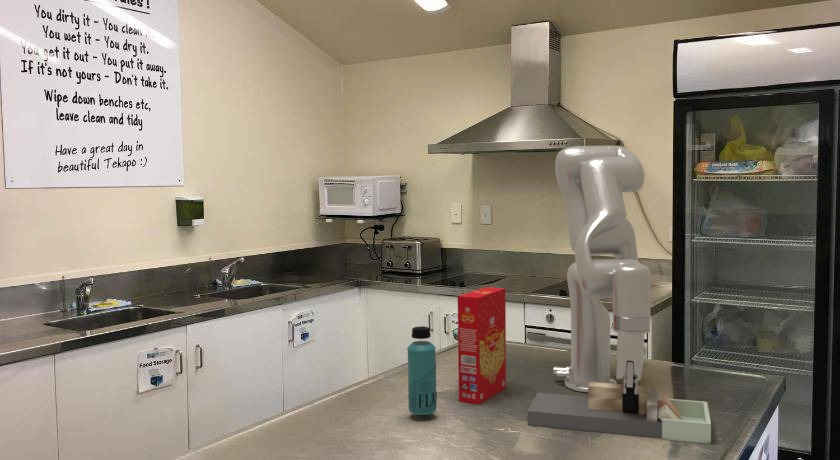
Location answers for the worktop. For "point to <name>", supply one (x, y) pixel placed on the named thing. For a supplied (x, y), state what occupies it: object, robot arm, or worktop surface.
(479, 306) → the food packaging
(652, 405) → the scraper
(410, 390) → the beverage bottle
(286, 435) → the worktop surface
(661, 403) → the tile terracotta
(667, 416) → the tile cream
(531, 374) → the worktop surface
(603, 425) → the grey platform with tray
